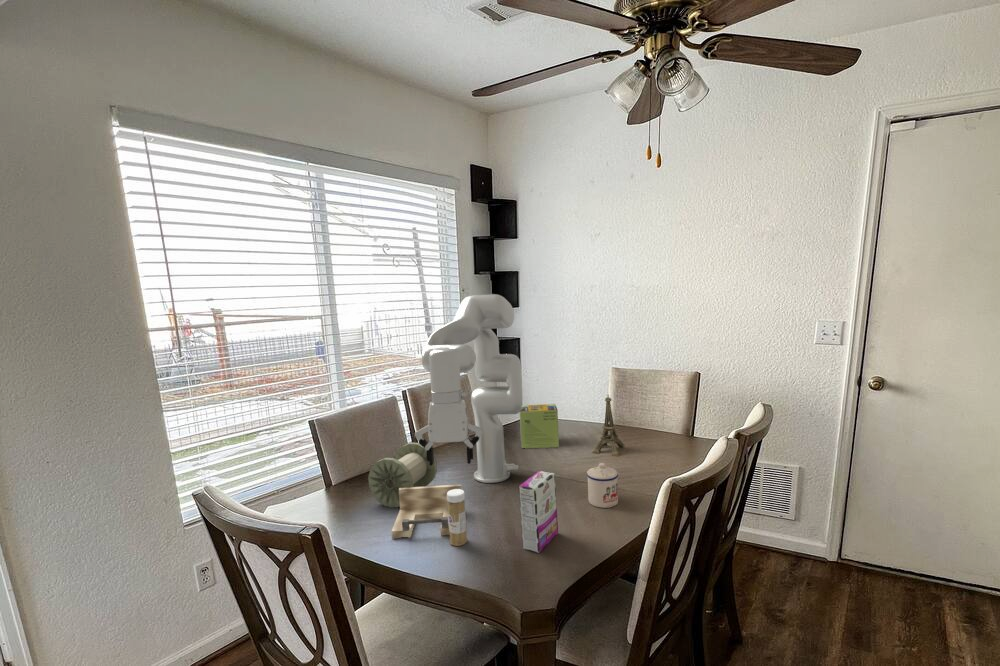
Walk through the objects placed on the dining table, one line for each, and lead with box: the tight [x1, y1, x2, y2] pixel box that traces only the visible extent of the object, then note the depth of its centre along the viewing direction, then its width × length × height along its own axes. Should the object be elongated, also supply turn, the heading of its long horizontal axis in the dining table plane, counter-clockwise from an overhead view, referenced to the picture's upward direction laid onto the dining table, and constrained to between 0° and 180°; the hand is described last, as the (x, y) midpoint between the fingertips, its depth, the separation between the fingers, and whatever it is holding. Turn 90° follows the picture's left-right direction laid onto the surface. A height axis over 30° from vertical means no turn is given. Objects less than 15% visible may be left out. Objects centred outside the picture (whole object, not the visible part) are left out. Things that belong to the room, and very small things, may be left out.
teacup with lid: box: [586, 462, 619, 509], centre depth 144 cm, size 12×9×12 cm
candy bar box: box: [518, 470, 559, 554], centre depth 123 cm, size 11×5×16 cm, turn 148°
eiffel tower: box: [591, 395, 628, 458], centre depth 187 cm, size 11×11×25 cm
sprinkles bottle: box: [447, 488, 468, 547], centre depth 124 cm, size 5×5×14 cm
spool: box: [367, 442, 438, 509], centre depth 155 cm, size 16×15×15 cm
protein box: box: [519, 403, 560, 449], centre depth 200 cm, size 10×15×16 cm
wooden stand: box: [390, 484, 462, 539], centre depth 135 cm, size 18×14×8 cm
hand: (450, 462), depth 124 cm, fingers open, 9 cm apart
